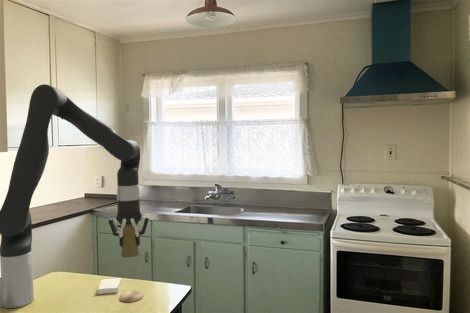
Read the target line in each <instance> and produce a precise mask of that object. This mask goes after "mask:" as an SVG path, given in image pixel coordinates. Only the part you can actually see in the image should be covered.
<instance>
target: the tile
mask: <svg viewBox="0 0 470 313" xmlns="http://www.w3.org/2000/svg"><path fill="white" fill-rule="evenodd" d="M122 283H123V282H122V277H120V278H119V277H117V278H107V279H106V278H105V279H103V278H102V280H101V281H100V284H99V286H98V287H97V295H102V294H103V293H106V294H118V293H119V291H120V288H121V285H122Z"/></svg>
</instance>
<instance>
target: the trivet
mask: <svg viewBox="0 0 470 313" xmlns="http://www.w3.org/2000/svg"><path fill="white" fill-rule="evenodd" d="M144 294H145V293H144V292H143V291H141V290H129V291H125V292H123V293H122V294H120V296H119V299H120V300H119V301H121V302H122V303H123V302H124V303H134V302H139V301H140V300H142V299H143V298H144Z"/></svg>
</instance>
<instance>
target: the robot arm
mask: <svg viewBox="0 0 470 313" xmlns="http://www.w3.org/2000/svg"><path fill="white" fill-rule="evenodd" d="M29 99H30V100H29V104H28V111H27V116H26V121H25V125H24V129H23V132H22V136H21V138H20V142H19V143H20V144H19V145H18V146H19V147H18V149H17V152H16V156H15V159H14V162H13V165H12V166H13V167H12V170H11V175H10V179H9V184H8V190H7V192H6V196H5V198H4V201H3V203H2V205H1V208H0V234H1V237H0V239H1V240H0V276H1V277H0V308H7V309H15V308H20V307H24V306H27V305H29V304H31V303H32V302H33V301H34V295H35V294H34V278H33V277H34V276H33V254H32V242H33V233H32V232H33V230H32V229H33V227H32V214H31V211H30V205H31V204H32V203H31V202H32V198H33V196H34V193H35V191H36V189H37V187H38V185H39V182H40V181H41V178H42V176H43V174H44V172H45V168H46V164H47V162H48V161H47V160H48V158H49V154H50V153H49V152H50V146H49V133H48V132H49V126H50V122H51V119H52V116H54V117H57V118H60V119H63V120H65V121H66V122H68V123H70V124H71V125H72V126H74V127H75V128H76V129H78V130H79V131H80V132H81V133H82V134H83V135H84V136H86V137H87V138H89V139H90V140H92V141H93V142H95V143H96V144H98V145H99V146H101V147H103V148H104V149H105V150H106V151H107V153H109V154H110V155H111V156H113V157H114V158H116V159H117V160H119V161H120V168H118V170H117V172H116V173H117V174H116V178H117V180H116V181H117V184H116V185H117V188H116V204H117V206H116V208H117V214H116V216H115V217H113V218H112V217H110V219H108V220H107V221H108V224H109V227H110V229H111V233H112V235H113V236H114V237H117V238H119V242H118V243H119V247H121V249H122V248H123V234H124V233H123V228H124V226H125V225H127V224H132V226H134V228H135V235H136V237H135V240H136V246H137V247H138V248H139V246H140V244H141V236H142V235H143V236H144V235H145V234H146V230H147V226H148V224H149V221H150V216H148V215H147V216H143V215H142V213H141V200H140V199H141V197H140V196H141V195H140V194H141V193H140V191H141V190H140V185H139V168H140V162H141V147H140V145H139V144H138V143H137V142H136V141H135V140H133V139H125V138H123V137H122V136H120V135H119V134H117V131H116V130H115V129H113V127H111V126H109V124H107V123H105V122H103V121H101V120H100V119H99V118H97V117H95V116H94V115H91V114H90V113H89V112H87V111H85V110H83V109H82V108H81V107H79V106H78V105H77V104H76V103H75V102H73V101H72V100H71V99H70V98H69V96H67V95H66V94H65V93H64V92H63V91H62V90H60V89H59V88H56V87H54V86H52V85H50V84H44V83H43V84H40V85H38V86H37V87H35V88H34V90H33V91H32V93H31V96H30V98H29ZM140 221H142V223H143V225H142V227H141V230H140V229H139V225H138V224H139V222H140ZM117 222H118V223H119V224H120V230H119V231H118V228H117V226H116V223H117ZM136 225H137V226H136Z"/></svg>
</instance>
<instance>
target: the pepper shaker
mask: <svg viewBox="0 0 470 313" xmlns="http://www.w3.org/2000/svg"><path fill="white" fill-rule="evenodd" d="M136 226H137V225H136ZM123 233H124V234H123V248H122V247H121V254H120V256H121V257H122V258H135V257H137V256H138V257H139V255H140V250H139V246H138V247H137V246H136V240H135V237H136V235H135V228H134V226H132V224H127V225H125V226H124V228H123Z"/></svg>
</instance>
